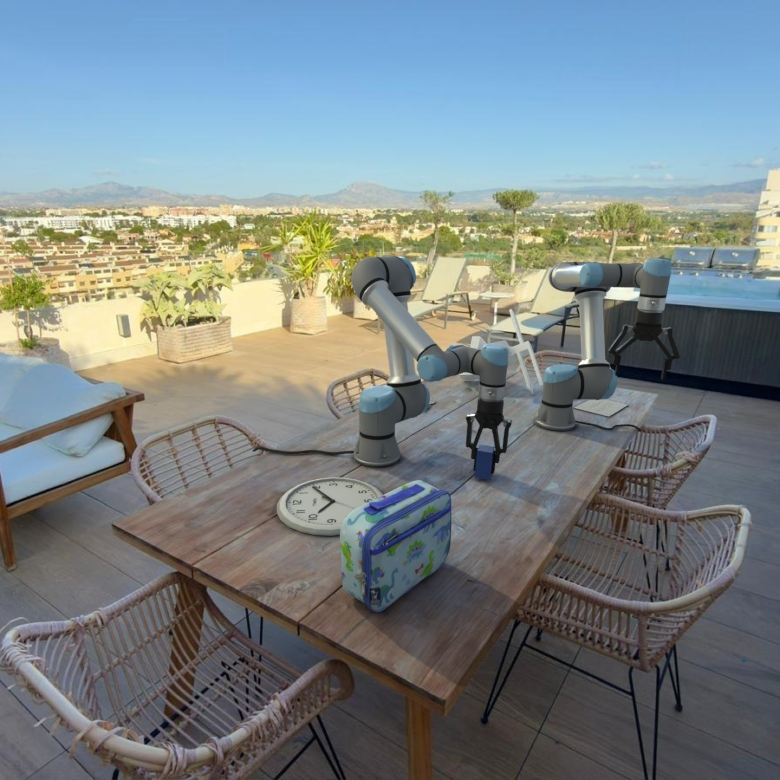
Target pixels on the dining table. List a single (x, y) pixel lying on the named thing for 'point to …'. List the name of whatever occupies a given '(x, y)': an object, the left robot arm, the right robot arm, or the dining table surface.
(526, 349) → the white plastic object
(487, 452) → the block
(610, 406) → the invitation card
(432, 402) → the fork
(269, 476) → the dining table surface
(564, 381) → the right robot arm
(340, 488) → the wall clock
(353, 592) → the lunch box
